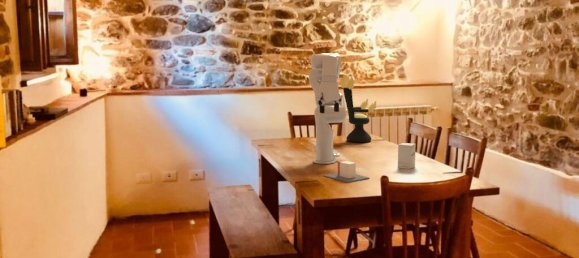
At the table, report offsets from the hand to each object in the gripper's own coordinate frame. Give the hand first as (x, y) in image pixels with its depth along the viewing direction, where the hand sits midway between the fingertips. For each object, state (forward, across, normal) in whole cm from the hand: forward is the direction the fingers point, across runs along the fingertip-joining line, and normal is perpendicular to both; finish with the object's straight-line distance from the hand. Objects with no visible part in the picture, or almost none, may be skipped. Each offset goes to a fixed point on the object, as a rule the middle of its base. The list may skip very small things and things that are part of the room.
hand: (329, 112), depth 317 cm
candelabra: (+31, -75, -60) cm, 101 cm away
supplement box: (+31, -37, +20) cm, 52 cm away
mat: (+30, +5, +19) cm, 36 cm away
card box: (+30, +5, +19) cm, 36 cm away
